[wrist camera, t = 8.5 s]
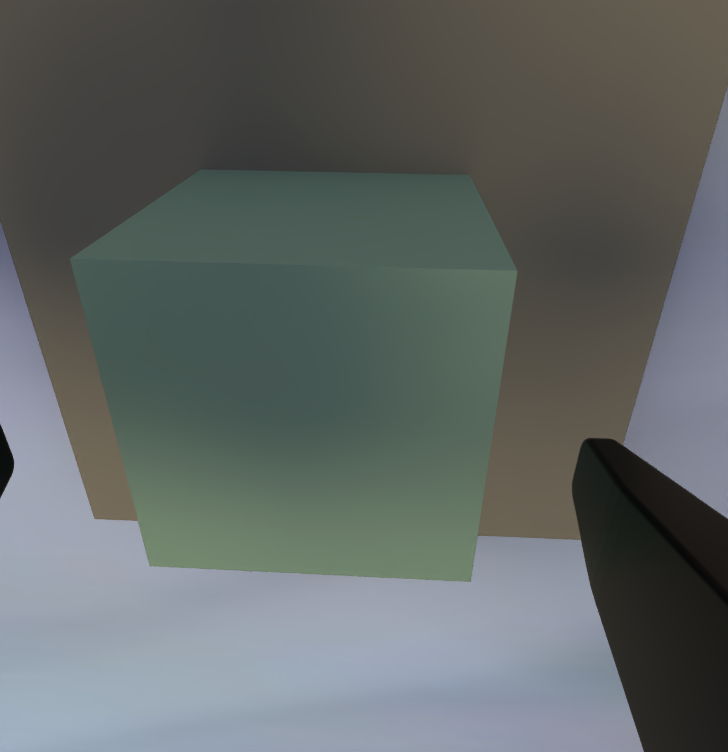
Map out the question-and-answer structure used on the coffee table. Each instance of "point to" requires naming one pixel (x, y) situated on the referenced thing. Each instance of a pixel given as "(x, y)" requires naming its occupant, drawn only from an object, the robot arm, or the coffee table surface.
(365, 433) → the cube
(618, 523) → the robot arm
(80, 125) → the mat
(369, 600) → the coffee table surface
